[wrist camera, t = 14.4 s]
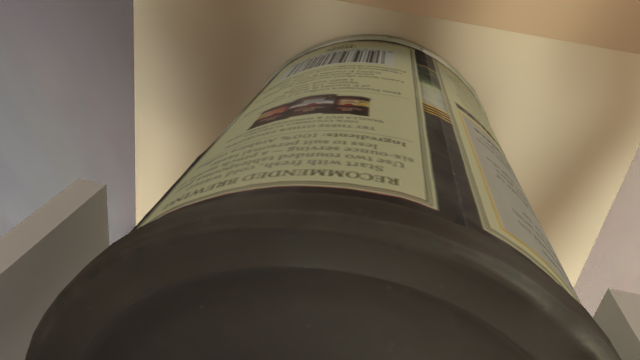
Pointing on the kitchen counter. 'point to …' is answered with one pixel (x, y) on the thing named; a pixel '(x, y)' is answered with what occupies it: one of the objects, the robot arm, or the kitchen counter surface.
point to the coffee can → (335, 234)
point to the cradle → (442, 39)
